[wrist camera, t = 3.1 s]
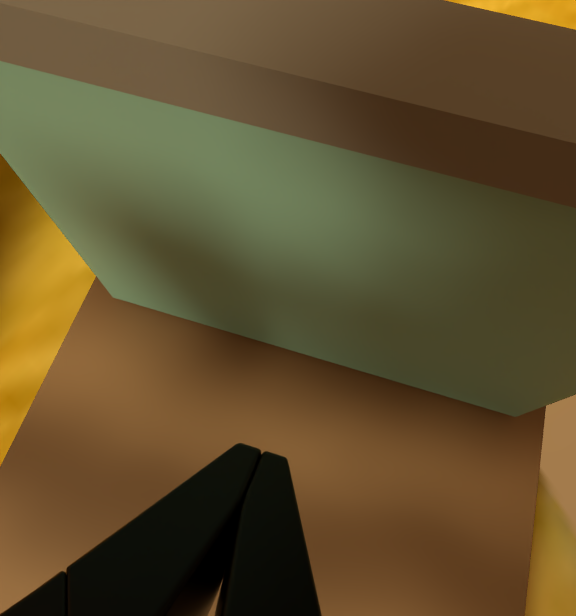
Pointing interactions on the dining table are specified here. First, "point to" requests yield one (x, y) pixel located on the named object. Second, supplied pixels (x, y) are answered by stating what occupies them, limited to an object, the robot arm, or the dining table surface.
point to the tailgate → (316, 176)
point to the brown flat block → (280, 440)
